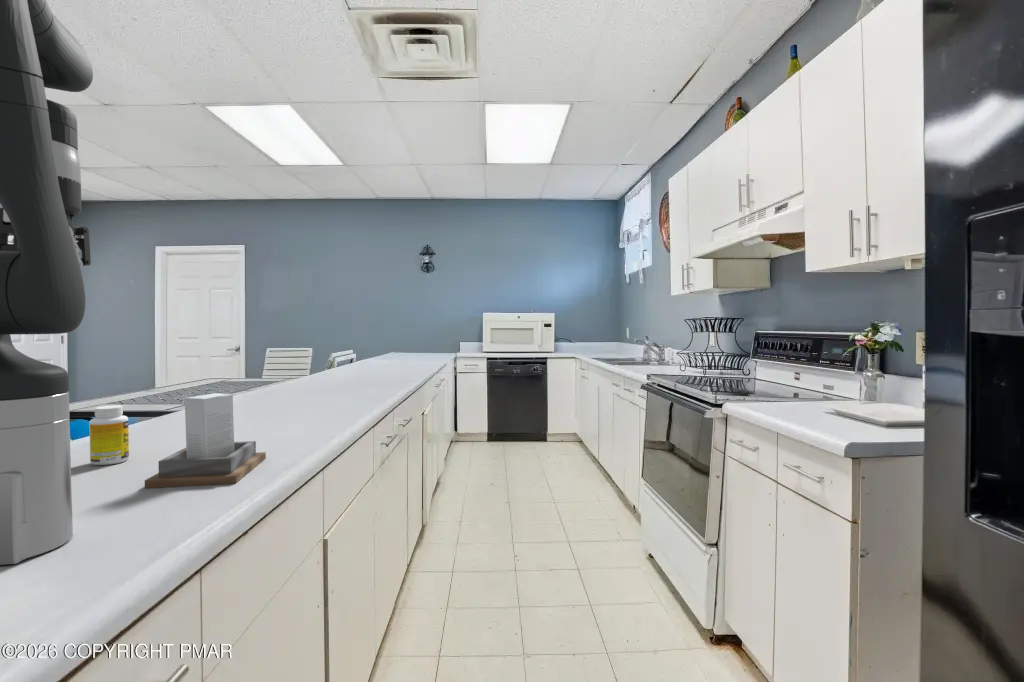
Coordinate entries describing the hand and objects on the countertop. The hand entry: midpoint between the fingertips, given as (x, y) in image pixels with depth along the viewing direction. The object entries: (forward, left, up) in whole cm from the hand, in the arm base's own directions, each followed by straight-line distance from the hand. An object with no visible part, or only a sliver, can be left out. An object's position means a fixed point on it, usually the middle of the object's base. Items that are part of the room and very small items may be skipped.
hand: (49, 290), depth 71 cm
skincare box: (+10, -17, -29) cm, 35 cm away
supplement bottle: (+20, +4, -30) cm, 37 cm away
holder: (+10, -17, -30) cm, 36 cm away
